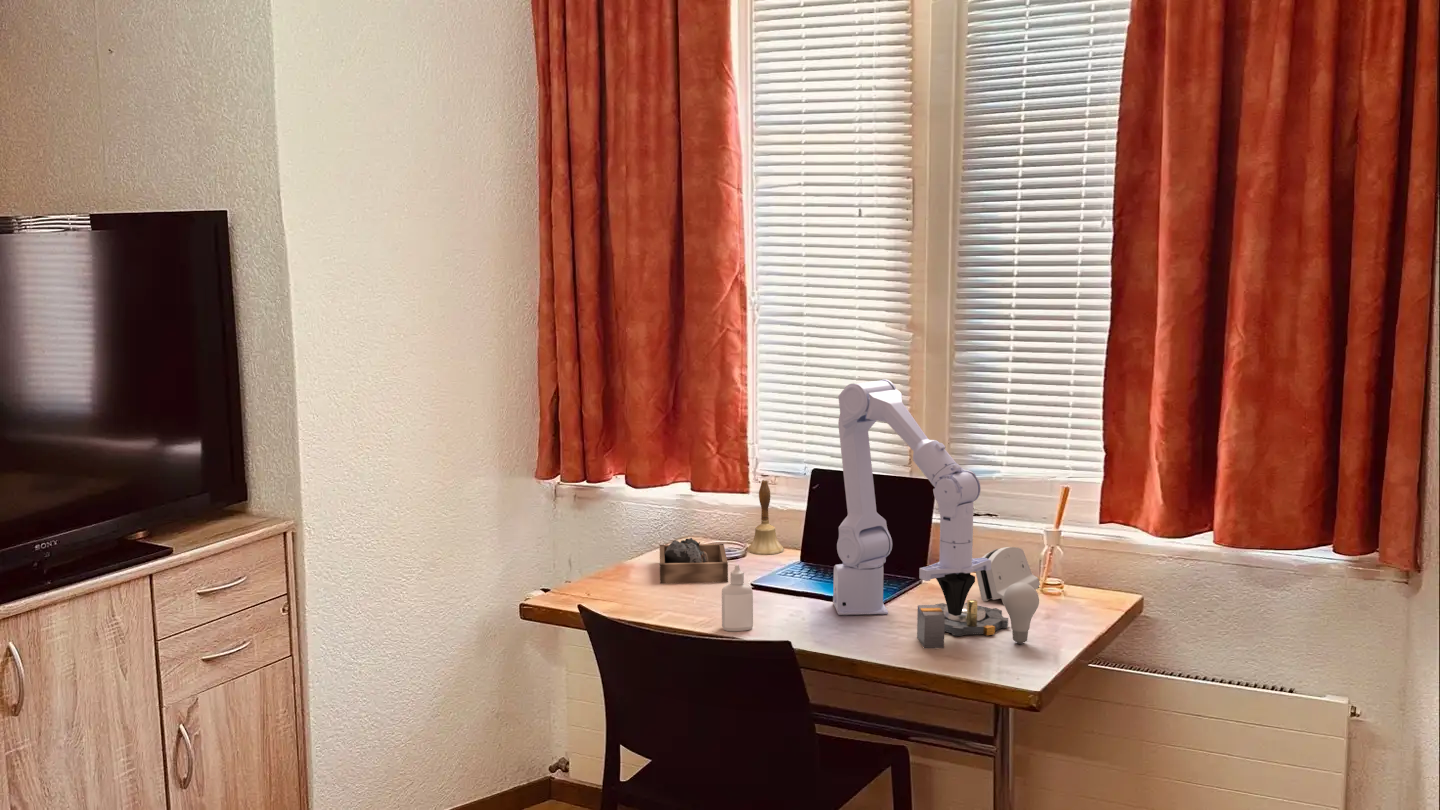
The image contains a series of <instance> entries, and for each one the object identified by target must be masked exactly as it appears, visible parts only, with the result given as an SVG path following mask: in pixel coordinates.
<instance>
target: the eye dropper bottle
mask: <svg viewBox="0 0 1440 810" xmlns="http://www.w3.org/2000/svg"><path fill="white" fill-rule="evenodd" d="M744 582H745V572H744V571H742V570H741V568H740V564H738V563H737V564H735V565H734V569H733V570H732V571H730V583H729V584H726V585H724V586H723V587H722V589H721V627H722V629H723V630H724V631H727V632H744V631H750V630H752V629H753V627H754V595H753V594H754V591H753V589H752V586H751V585H749V584H746V583H744Z"/></svg>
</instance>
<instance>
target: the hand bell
mask: <svg viewBox="0 0 1440 810" xmlns="http://www.w3.org/2000/svg"><path fill="white" fill-rule="evenodd" d="M758 499H759V504H760V509H761V518H760V519H761V523H760V524H758V525H757V526H755V529H754V530H755V531H754V537H753V540H752V542H751V544H750V545H749V546H748V547H747V549H746V550H747V552H749V553H750V554H753V555H761V556H768V555H778V554H780V553H782V552H784V551H785V549H784V547H783V545H782V544H781V543H780V542H779V540H778V538H777V537H778V536H777V534H776V527H775V526H774V525H771V524H770V521H769V520H770V517H769V516H770V515H769V507H770V503H771V489H770V486H769V483H768V481H767V480H762V481H761V483H760V487H759V490H758Z"/></svg>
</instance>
